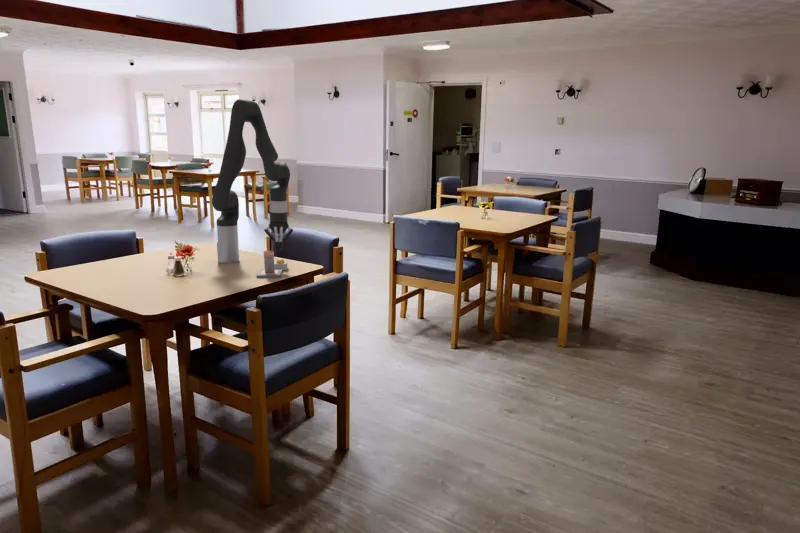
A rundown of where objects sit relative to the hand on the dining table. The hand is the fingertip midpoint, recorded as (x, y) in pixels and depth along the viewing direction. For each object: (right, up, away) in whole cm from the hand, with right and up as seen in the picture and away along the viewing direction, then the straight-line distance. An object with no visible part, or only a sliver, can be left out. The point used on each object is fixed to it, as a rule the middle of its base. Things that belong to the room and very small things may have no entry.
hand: (279, 249), depth 250 cm
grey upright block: (-2, -10, -8) cm, 13 cm away
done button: (0, -7, +2) cm, 8 cm away
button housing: (0, -9, +2) cm, 9 cm away
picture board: (-2, -11, -8) cm, 14 cm away
